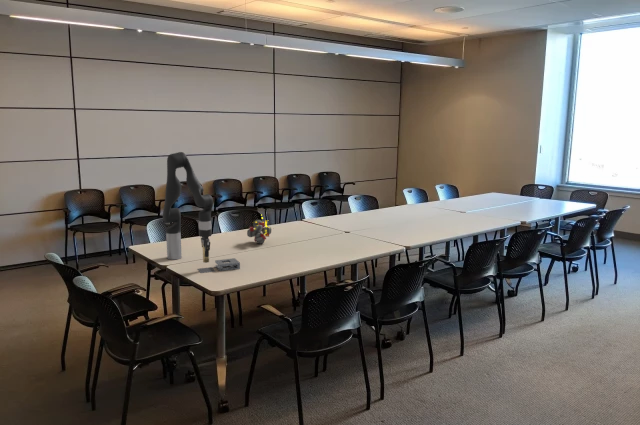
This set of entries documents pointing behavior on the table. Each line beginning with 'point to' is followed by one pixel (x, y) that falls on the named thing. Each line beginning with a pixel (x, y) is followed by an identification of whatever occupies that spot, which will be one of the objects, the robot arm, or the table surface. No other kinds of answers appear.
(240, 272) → the table surface
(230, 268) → the grey flat block
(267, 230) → the molecule model
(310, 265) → the table surface
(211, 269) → the rubber mat
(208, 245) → the robot arm
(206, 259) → the brass pin
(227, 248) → the table surface
